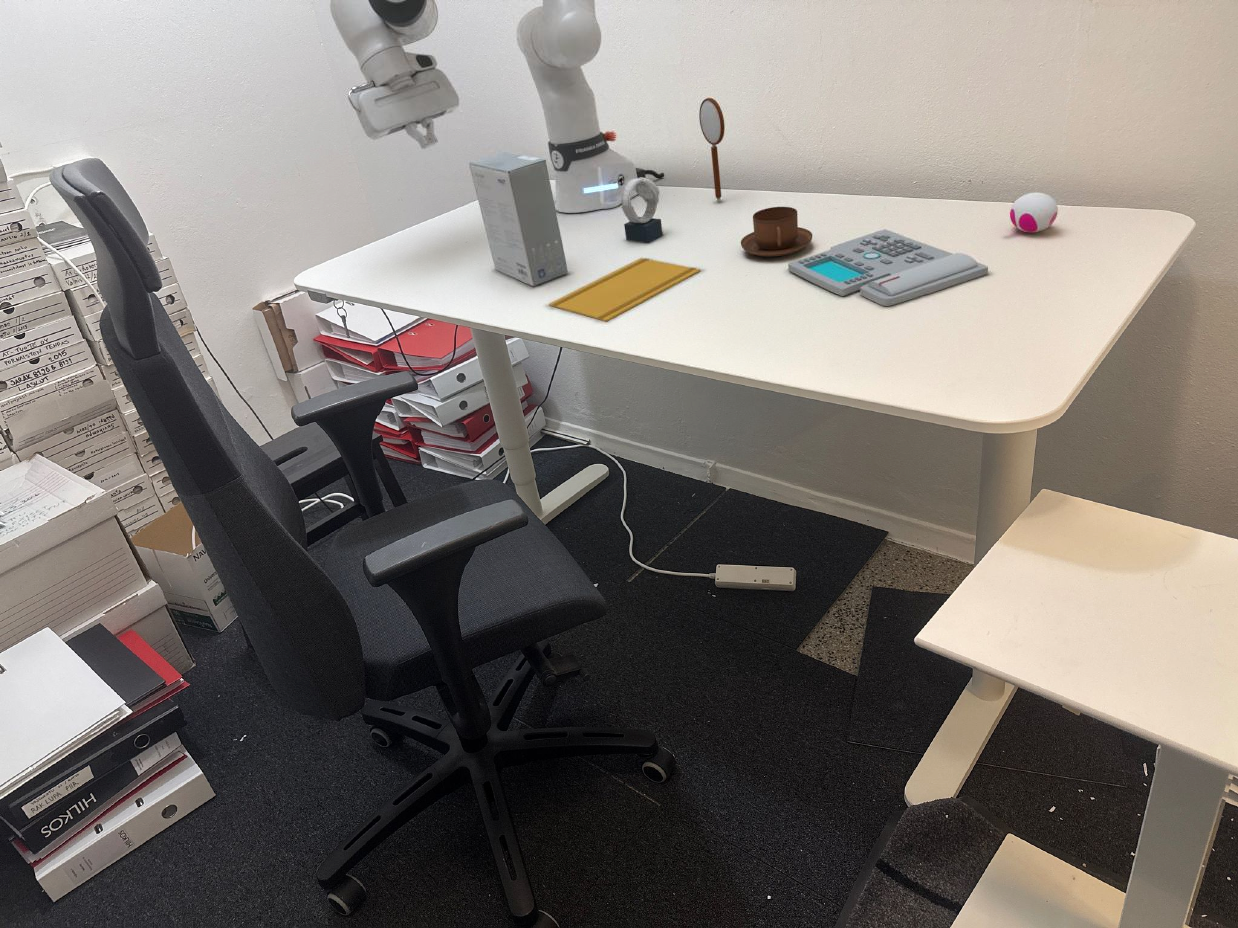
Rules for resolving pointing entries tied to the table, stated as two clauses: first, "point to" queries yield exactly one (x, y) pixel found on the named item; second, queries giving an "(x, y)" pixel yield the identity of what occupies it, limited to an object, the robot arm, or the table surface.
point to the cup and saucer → (776, 233)
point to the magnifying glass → (713, 134)
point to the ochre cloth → (624, 289)
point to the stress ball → (1033, 212)
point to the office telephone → (887, 268)
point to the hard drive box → (519, 216)
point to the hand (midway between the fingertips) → (430, 145)
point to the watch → (646, 225)
